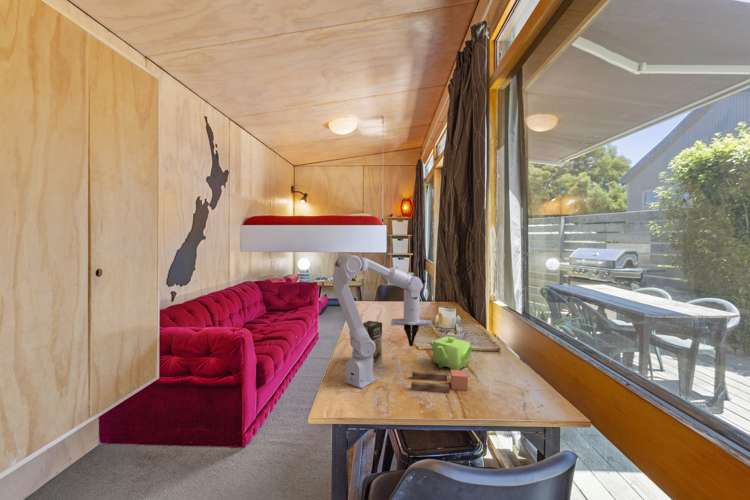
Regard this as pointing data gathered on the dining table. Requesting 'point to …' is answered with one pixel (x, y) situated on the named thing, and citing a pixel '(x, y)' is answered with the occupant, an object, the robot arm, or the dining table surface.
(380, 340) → the coffee box
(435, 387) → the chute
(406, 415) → the dining table surface
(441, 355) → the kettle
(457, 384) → the block
